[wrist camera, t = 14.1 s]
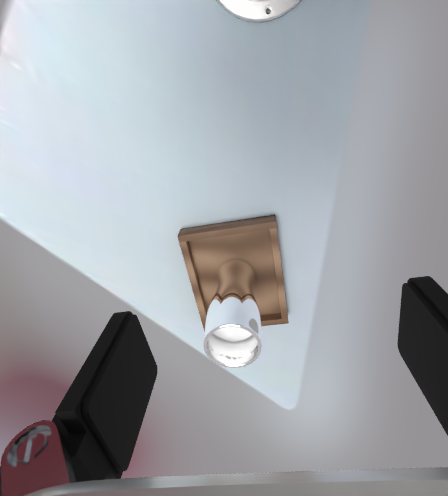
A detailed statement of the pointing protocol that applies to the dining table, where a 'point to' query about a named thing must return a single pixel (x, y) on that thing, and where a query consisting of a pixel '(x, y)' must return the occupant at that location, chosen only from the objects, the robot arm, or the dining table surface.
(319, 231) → the dining table surface
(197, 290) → the walnut tray
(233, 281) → the beer glass
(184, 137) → the dining table surface
